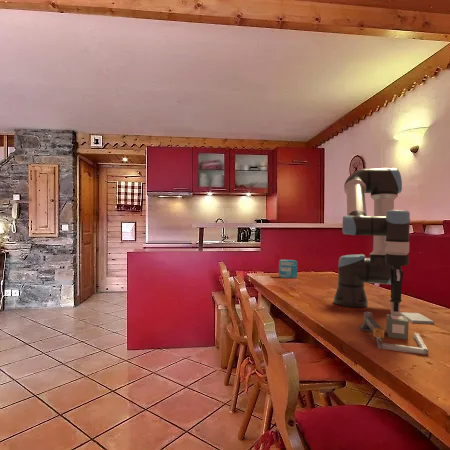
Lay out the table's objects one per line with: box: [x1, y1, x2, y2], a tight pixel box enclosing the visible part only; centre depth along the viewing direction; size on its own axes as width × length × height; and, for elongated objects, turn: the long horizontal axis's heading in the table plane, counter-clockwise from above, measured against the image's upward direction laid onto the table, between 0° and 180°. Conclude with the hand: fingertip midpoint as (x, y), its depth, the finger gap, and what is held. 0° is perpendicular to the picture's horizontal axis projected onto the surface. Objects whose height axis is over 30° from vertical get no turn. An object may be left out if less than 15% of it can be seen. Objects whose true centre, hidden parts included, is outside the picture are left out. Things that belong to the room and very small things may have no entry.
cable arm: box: [366, 316, 385, 339], centre depth 114 cm, size 16×3×2 cm, turn 168°
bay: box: [375, 332, 429, 356], centre depth 110 cm, size 16×13×2 cm
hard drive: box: [400, 311, 435, 325], centre depth 138 cm, size 2×8×12 cm
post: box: [359, 311, 373, 333], centre depth 123 cm, size 5×5×6 cm
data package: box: [278, 259, 298, 279], centre depth 235 cm, size 12×4×12 cm, turn 87°
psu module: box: [385, 314, 410, 341], centre depth 117 cm, size 7×6×6 cm
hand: (395, 319), depth 121 cm, fingers closed
